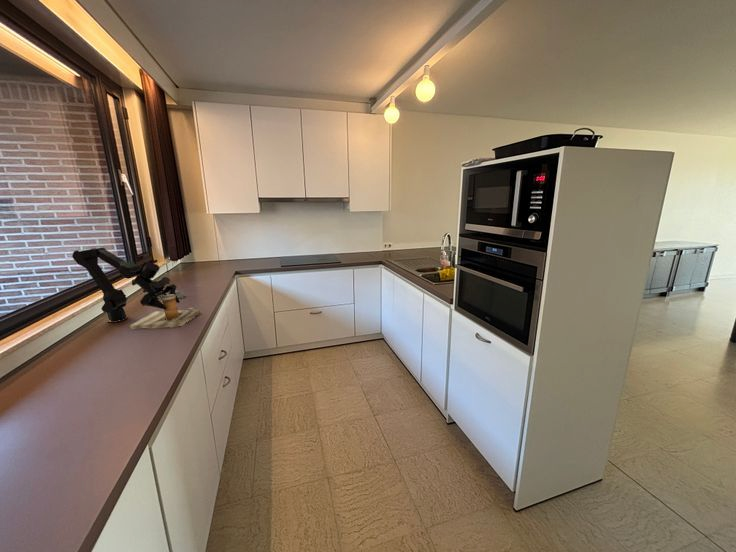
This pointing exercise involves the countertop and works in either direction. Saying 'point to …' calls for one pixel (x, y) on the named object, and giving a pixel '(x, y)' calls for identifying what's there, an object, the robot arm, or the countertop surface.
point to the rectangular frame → (157, 320)
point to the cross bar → (182, 315)
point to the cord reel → (170, 306)
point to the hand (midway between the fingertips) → (172, 305)
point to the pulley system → (177, 294)
